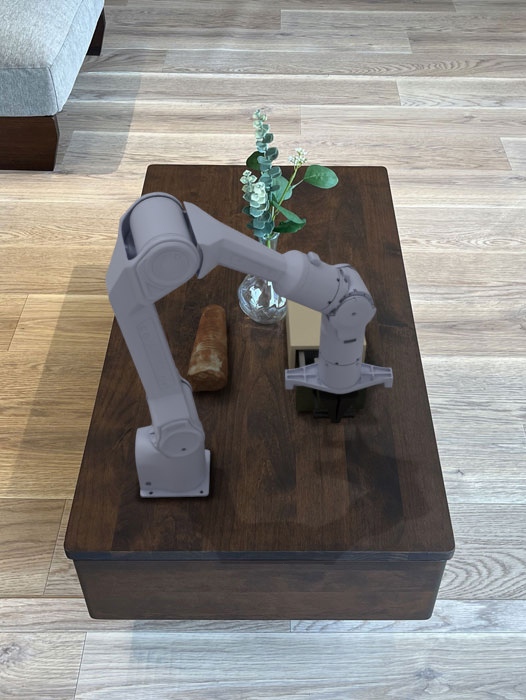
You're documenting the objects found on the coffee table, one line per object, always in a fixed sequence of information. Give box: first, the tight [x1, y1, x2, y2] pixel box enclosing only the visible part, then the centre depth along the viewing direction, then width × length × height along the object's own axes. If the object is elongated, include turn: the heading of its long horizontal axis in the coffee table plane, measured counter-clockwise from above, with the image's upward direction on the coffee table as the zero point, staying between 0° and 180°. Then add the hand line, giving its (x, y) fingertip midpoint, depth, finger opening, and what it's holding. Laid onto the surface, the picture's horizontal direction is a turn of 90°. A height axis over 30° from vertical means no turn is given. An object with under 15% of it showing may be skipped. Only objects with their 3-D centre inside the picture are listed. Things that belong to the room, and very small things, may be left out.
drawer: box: [294, 349, 368, 420], centre depth 122 cm, size 17×10×6 cm, turn 1°
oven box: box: [285, 299, 367, 370], centre depth 129 cm, size 14×12×8 cm
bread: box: [185, 304, 229, 393], centre depth 129 cm, size 6×19×6 cm, turn 177°
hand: (335, 418), depth 114 cm, fingers closed, pressing on drawer
